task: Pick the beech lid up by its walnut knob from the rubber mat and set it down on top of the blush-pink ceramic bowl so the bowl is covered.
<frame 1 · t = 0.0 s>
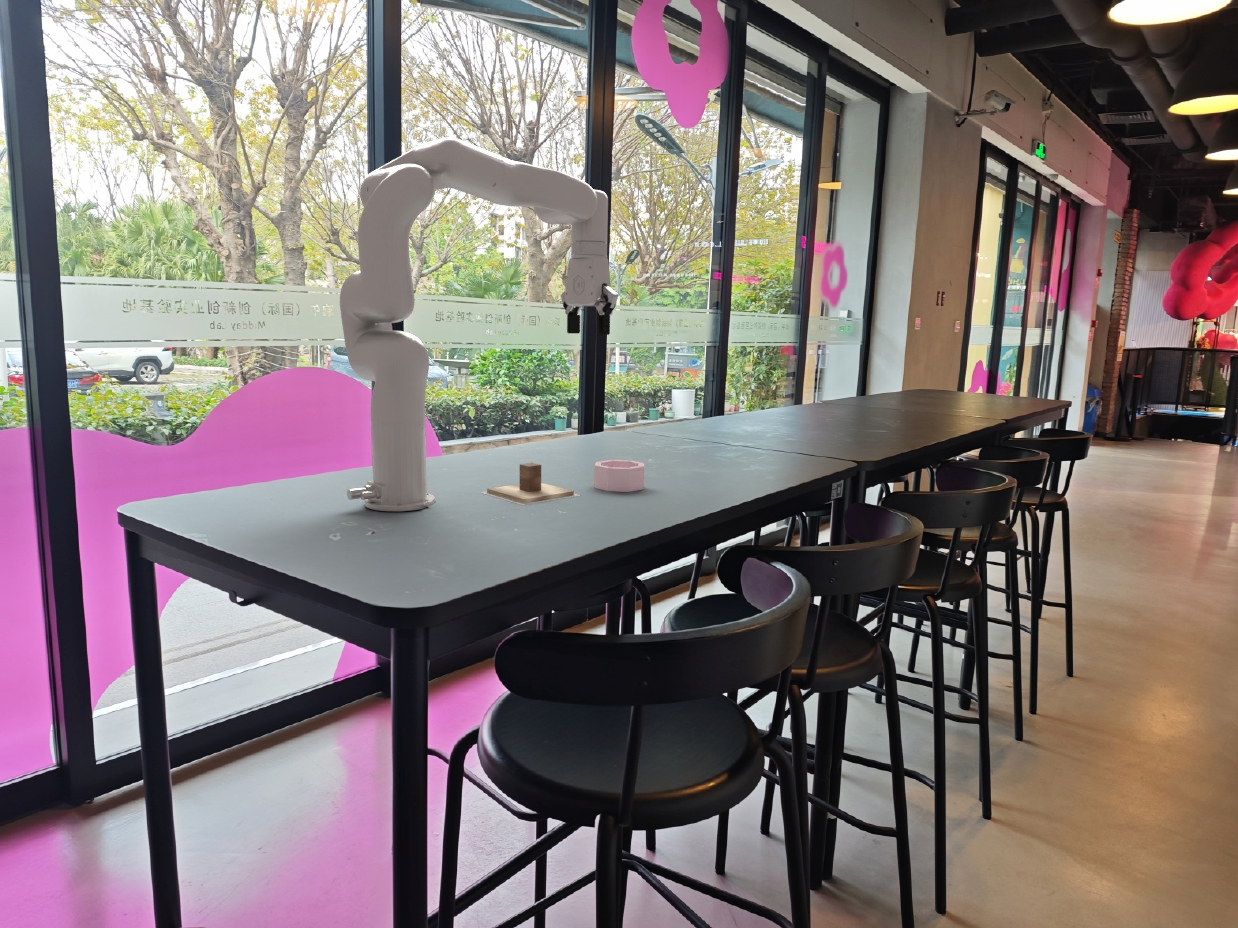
hand: (588, 334, 179), 31 cm above the table, fingers open, 9 cm apart
mat: (530, 495, 163), on the table
lid: (530, 493, 163), resting on mat
bowl: (619, 488, 172), on the table
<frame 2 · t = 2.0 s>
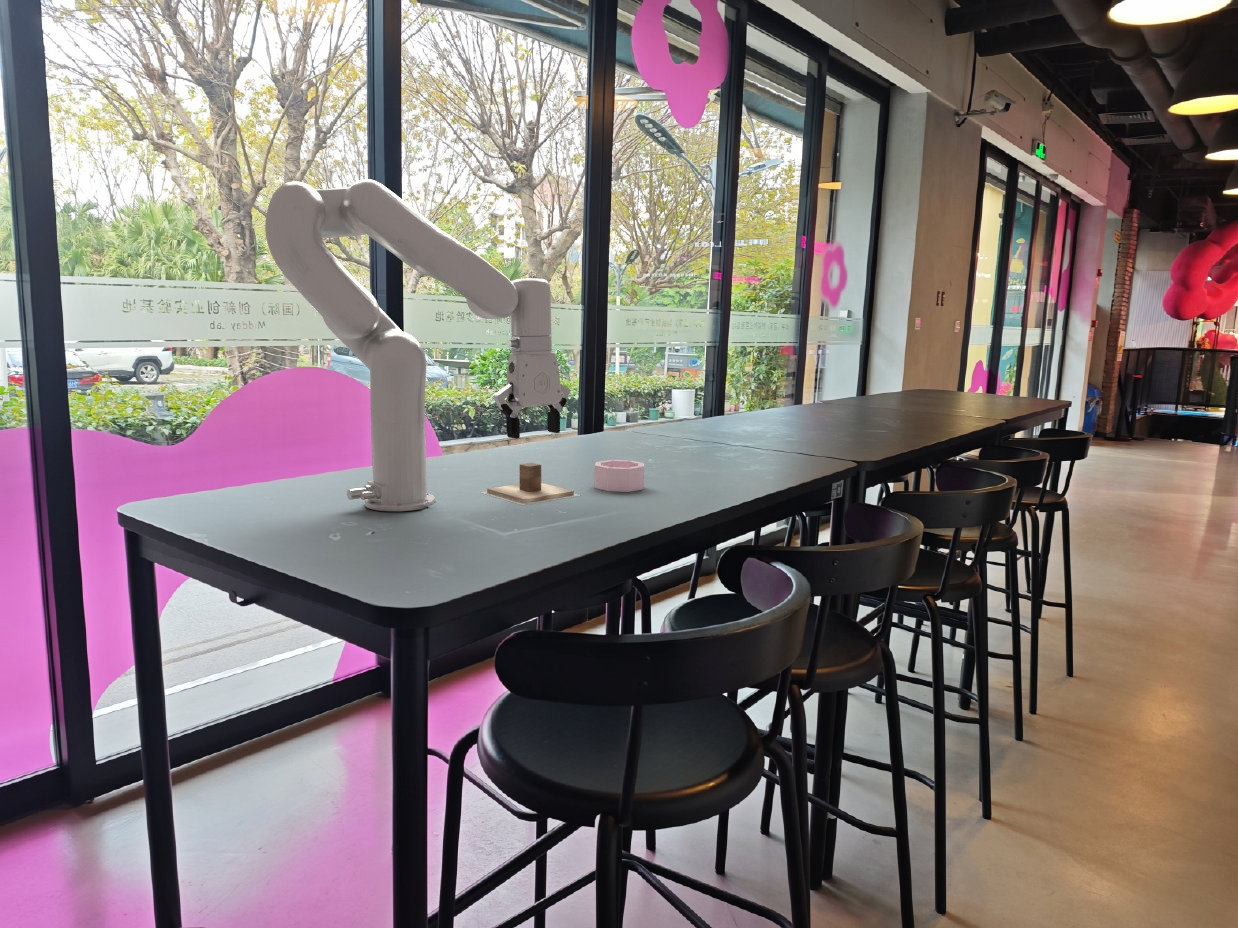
hand: (534, 435, 161), 12 cm above the table, fingers open, 9 cm apart
nothing on the table moved.
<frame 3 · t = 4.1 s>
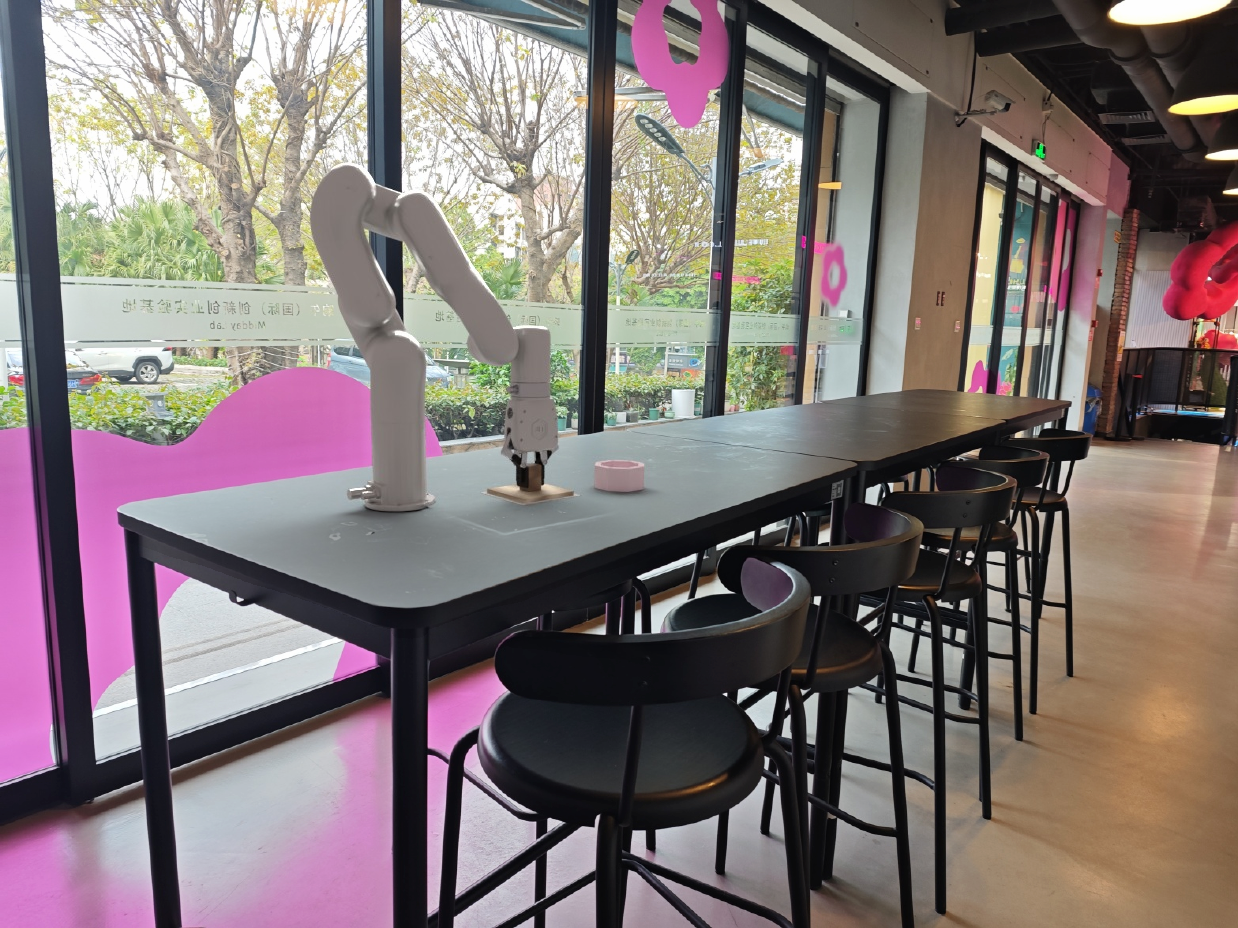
hand: (530, 484, 163), 2 cm above the table, fingers closed on lid, 3 cm apart
lid: (530, 493, 163), resting on mat, touching gripper
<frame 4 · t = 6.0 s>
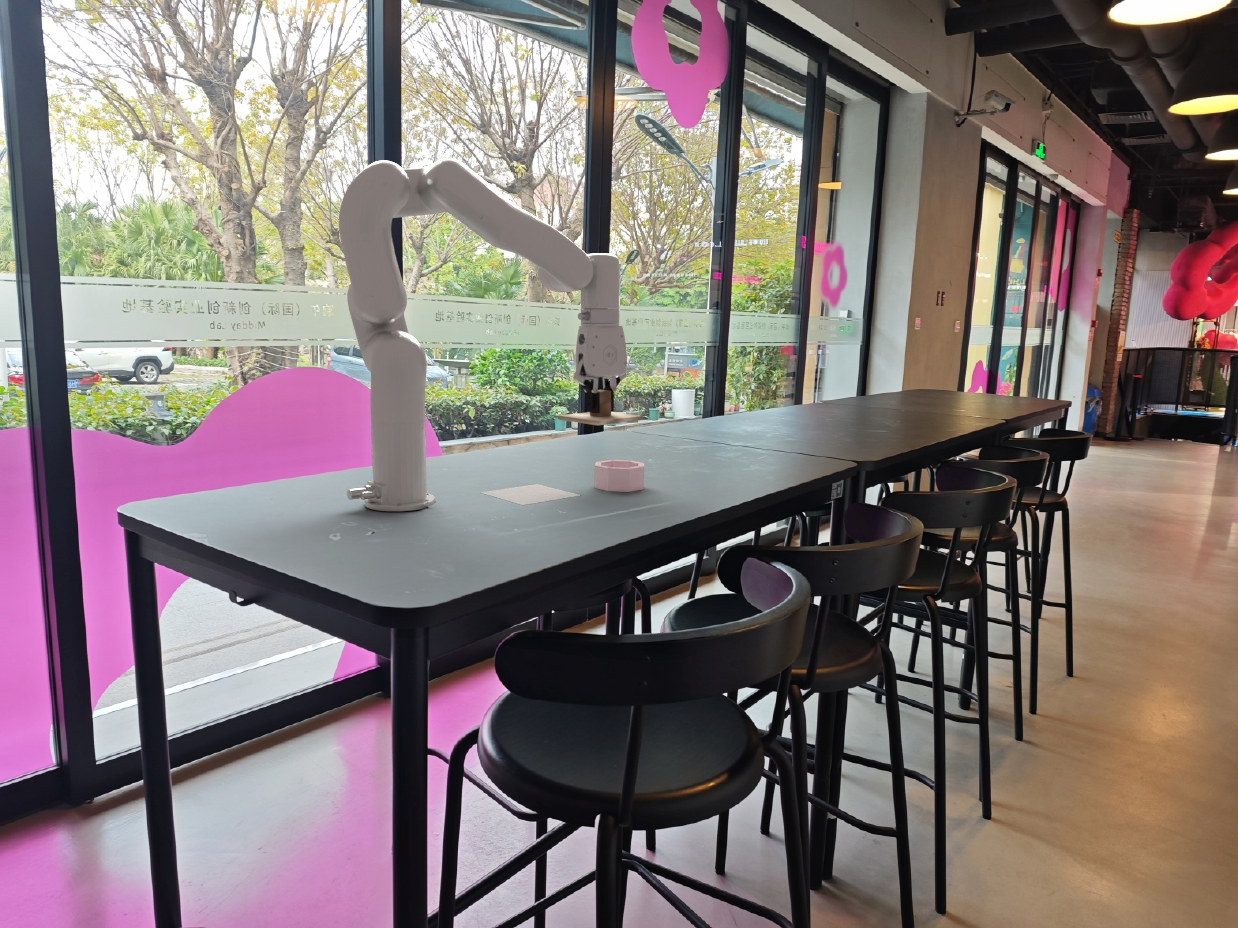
hand: (600, 411, 167), 16 cm above the table, fingers closed on lid, 3 cm apart
lid: (600, 419, 167), point 14 cm above the table, touching gripper
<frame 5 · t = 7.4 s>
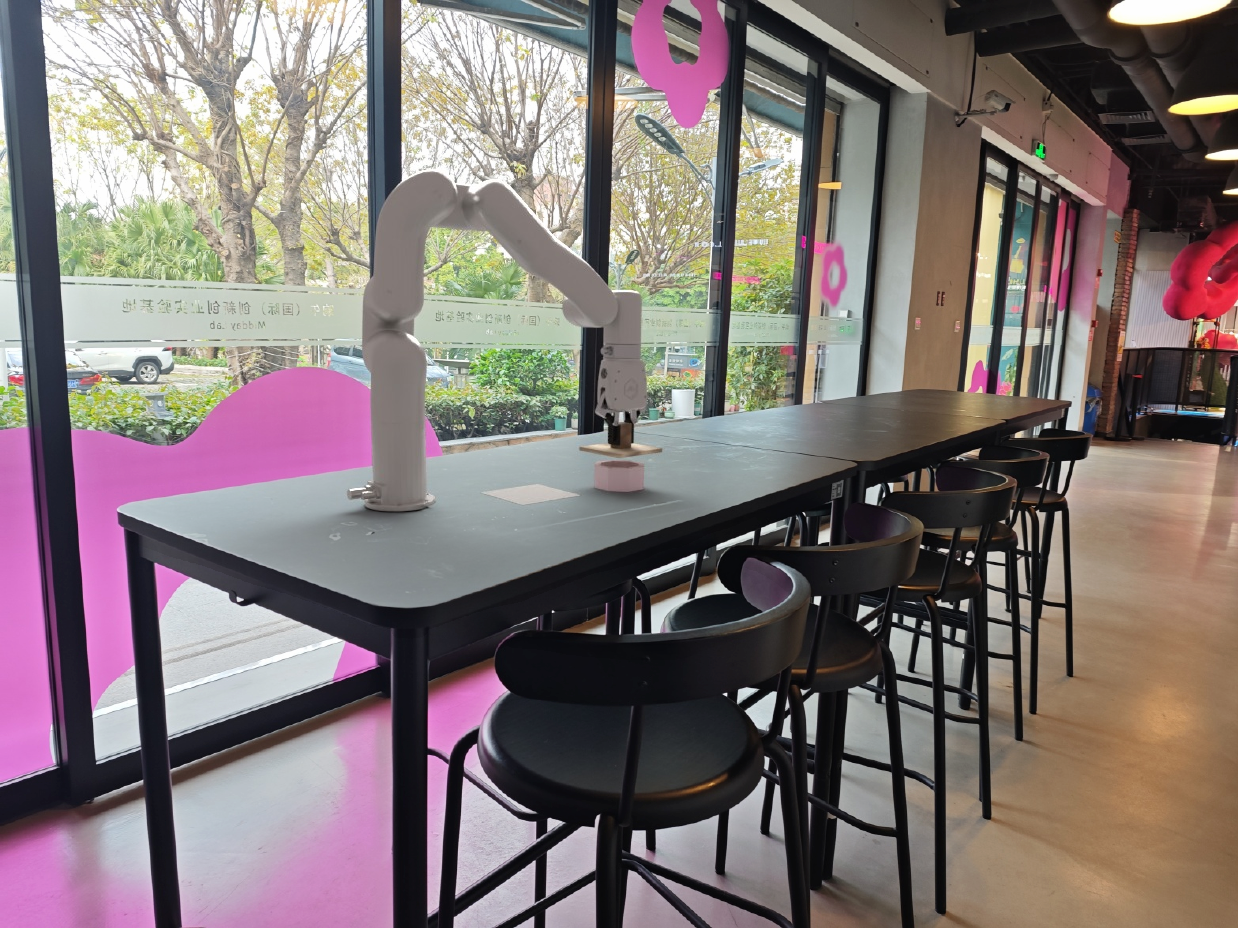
hand: (620, 442, 170), 9 cm above the table, fingers closed on lid, 3 cm apart
lid: (620, 451, 171), point 8 cm above the table, touching gripper
when the fingers open (8 cm above the table, at t = 8.3 s): lid drops 1 cm, resting on bowl.
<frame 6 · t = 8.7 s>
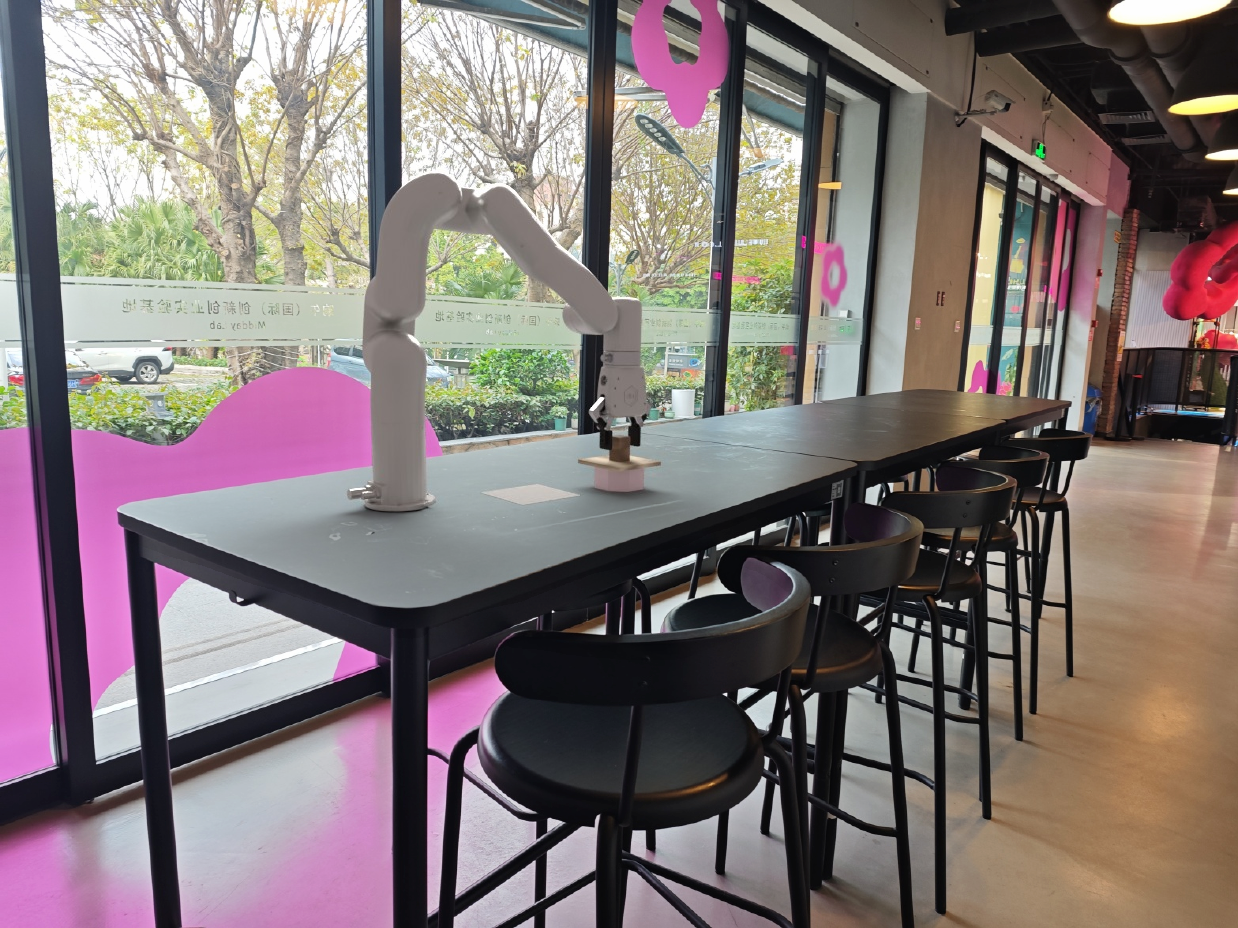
hand: (620, 446, 171), 9 cm above the table, fingers open, 7 cm apart
lid: (619, 464, 171), point 5 cm above the table, touching bowl
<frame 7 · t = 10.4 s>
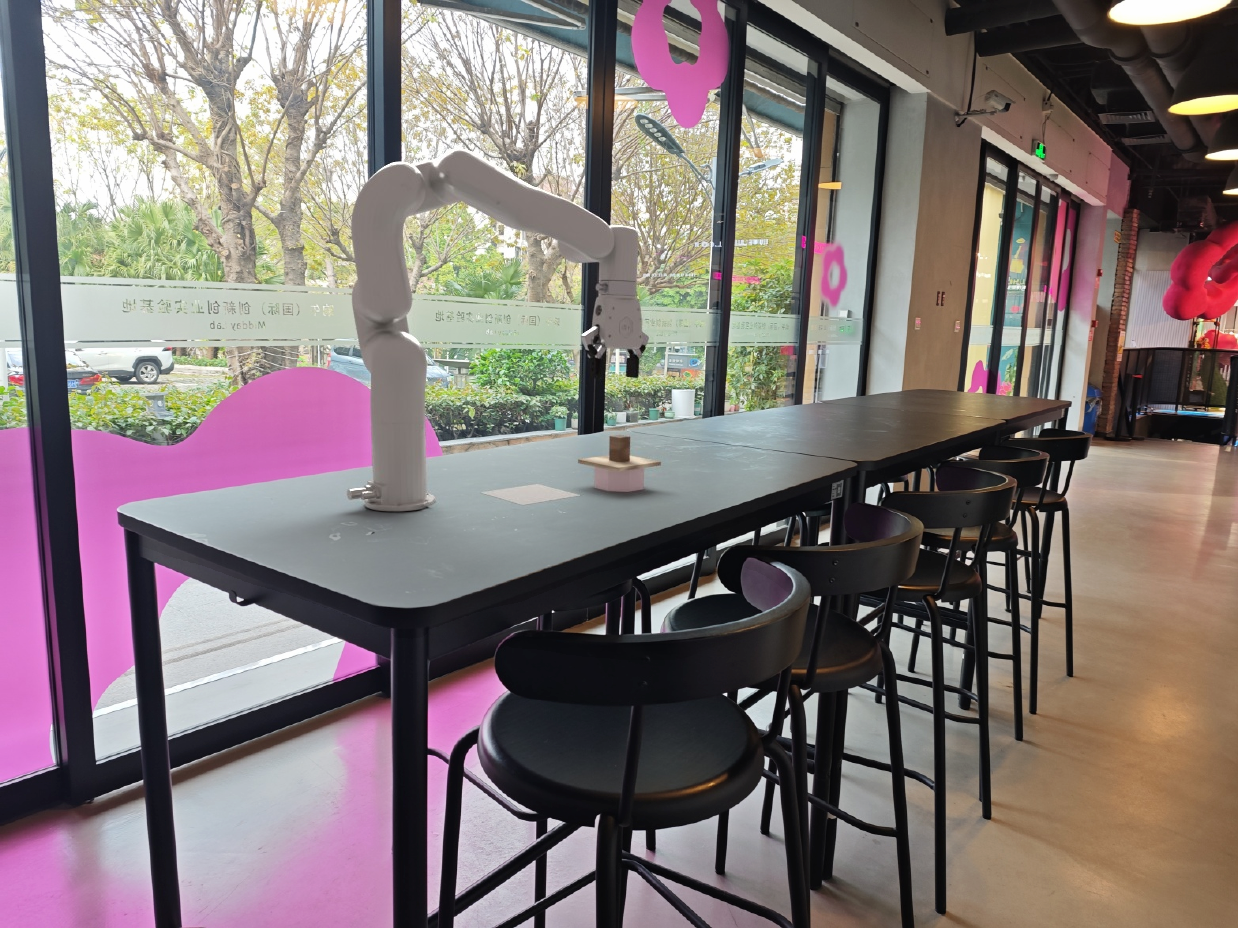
hand: (614, 377, 168), 23 cm above the table, fingers open, 9 cm apart
nothing on the table moved.
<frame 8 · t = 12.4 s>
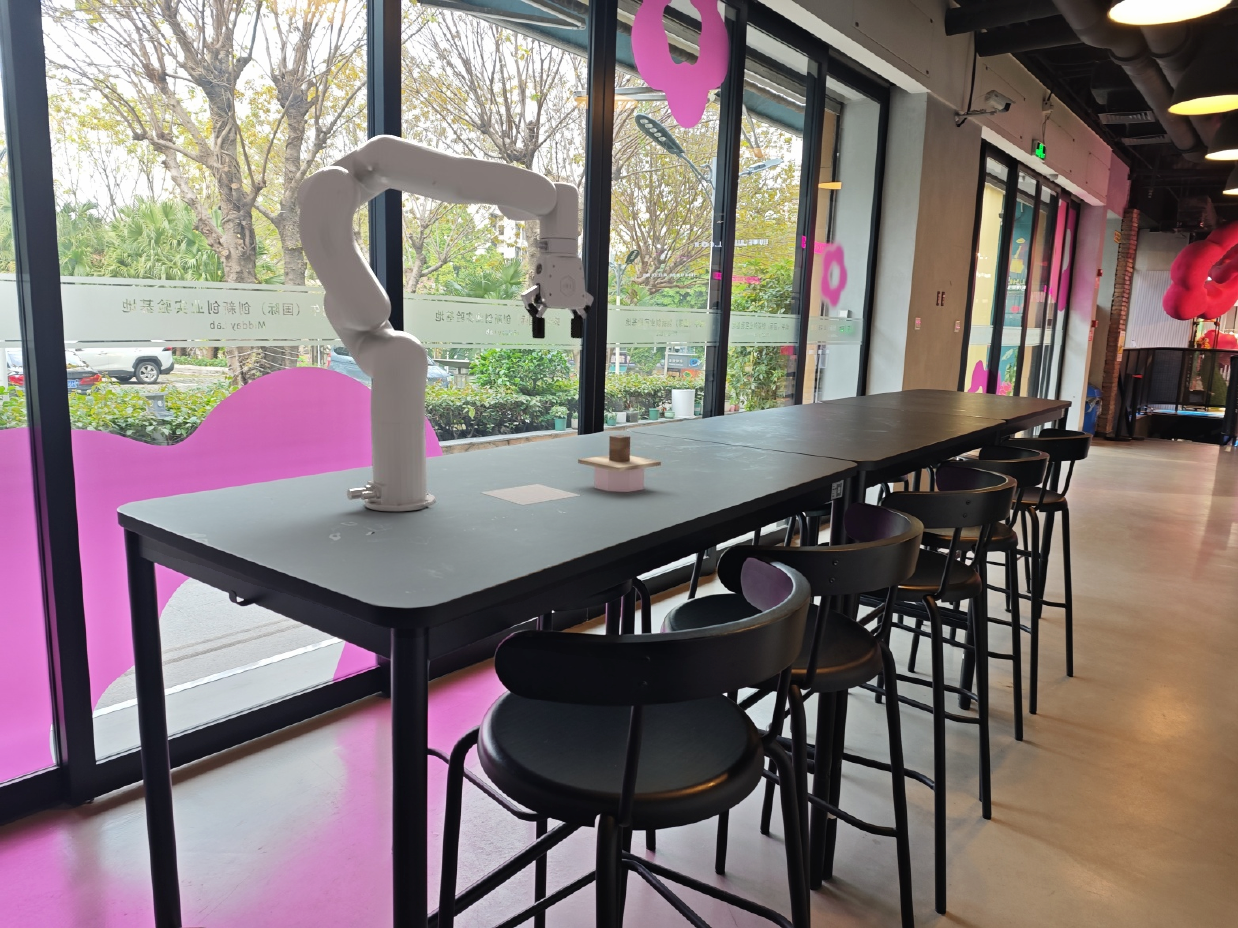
hand: (558, 338, 166), 30 cm above the table, fingers open, 9 cm apart
nothing on the table moved.
at the end: lid 0.1 cm off-centre on the bowl, point 5.0 cm above the bowl's base; lid tilted 0°; the gripper is holding nothing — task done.
